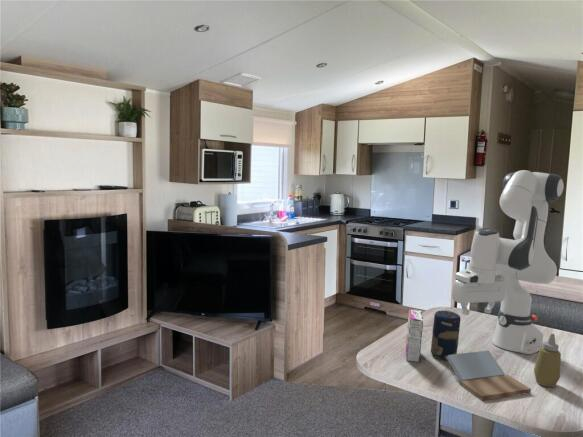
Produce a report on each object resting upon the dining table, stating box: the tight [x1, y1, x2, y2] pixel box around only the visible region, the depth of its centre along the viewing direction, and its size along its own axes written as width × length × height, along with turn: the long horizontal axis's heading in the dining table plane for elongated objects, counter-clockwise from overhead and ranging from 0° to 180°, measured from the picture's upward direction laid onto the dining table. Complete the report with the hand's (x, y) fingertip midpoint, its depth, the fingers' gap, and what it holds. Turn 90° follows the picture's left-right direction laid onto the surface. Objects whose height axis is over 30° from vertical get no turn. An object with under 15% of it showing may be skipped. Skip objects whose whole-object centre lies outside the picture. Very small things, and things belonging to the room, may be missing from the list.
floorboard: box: [460, 374, 532, 401], centre depth 157 cm, size 20×10×2 cm, turn 110°
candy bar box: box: [405, 309, 424, 363], centre depth 179 cm, size 11×5×16 cm, turn 168°
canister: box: [430, 310, 462, 361], centre depth 180 cm, size 10×10×18 cm
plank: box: [446, 350, 506, 382], centre depth 166 cm, size 18×10×2 cm
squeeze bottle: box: [533, 333, 562, 388], centre depth 162 cm, size 8×8×18 cm
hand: (476, 313), depth 166 cm, fingers open, 8 cm apart
